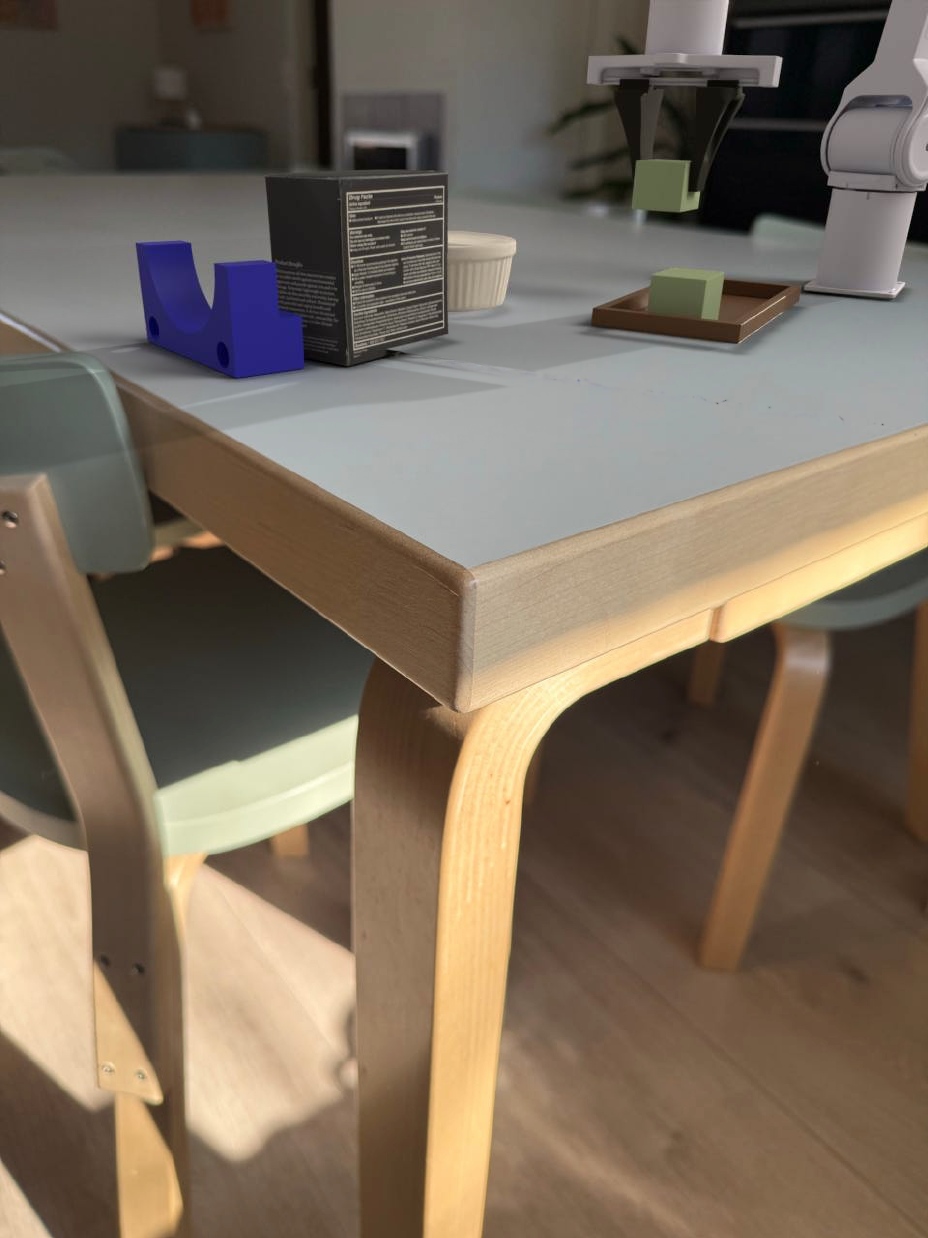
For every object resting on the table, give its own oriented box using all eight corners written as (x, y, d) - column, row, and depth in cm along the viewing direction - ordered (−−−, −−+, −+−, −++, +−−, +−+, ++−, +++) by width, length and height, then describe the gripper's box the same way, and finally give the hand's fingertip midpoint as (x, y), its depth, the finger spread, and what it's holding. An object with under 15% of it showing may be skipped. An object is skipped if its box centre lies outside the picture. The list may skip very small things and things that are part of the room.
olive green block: (651, 205, 80) (656, 159, 78) (698, 208, 78) (704, 161, 76) (631, 208, 76) (636, 160, 74) (680, 212, 74) (686, 162, 72)
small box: (377, 328, 68) (375, 165, 63) (451, 341, 65) (455, 171, 60) (270, 352, 60) (258, 168, 55) (349, 368, 57) (343, 174, 52)
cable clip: (304, 368, 57) (299, 261, 54) (236, 378, 54) (226, 266, 51) (210, 333, 65) (202, 239, 62) (147, 340, 62) (135, 242, 59)
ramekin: (356, 315, 72) (354, 240, 70) (392, 293, 82) (391, 227, 79) (502, 324, 71) (505, 248, 68) (520, 300, 80) (524, 233, 78)
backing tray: (677, 294, 86) (680, 273, 85) (797, 307, 81) (802, 285, 80) (590, 333, 69) (592, 307, 68) (737, 352, 64) (741, 324, 63)
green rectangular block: (666, 315, 73) (671, 266, 71) (717, 321, 71) (725, 271, 69) (645, 325, 69) (650, 274, 67) (699, 331, 67) (706, 279, 65)
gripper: (578, -17, 70) (564, 186, 76) (779, -24, 64) (745, 197, 70) (612, -6, 75) (596, 183, 82) (799, -11, 69) (767, 193, 76)
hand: (667, 189), depth 76 cm, fingers closed on olive green block, 4 cm apart
